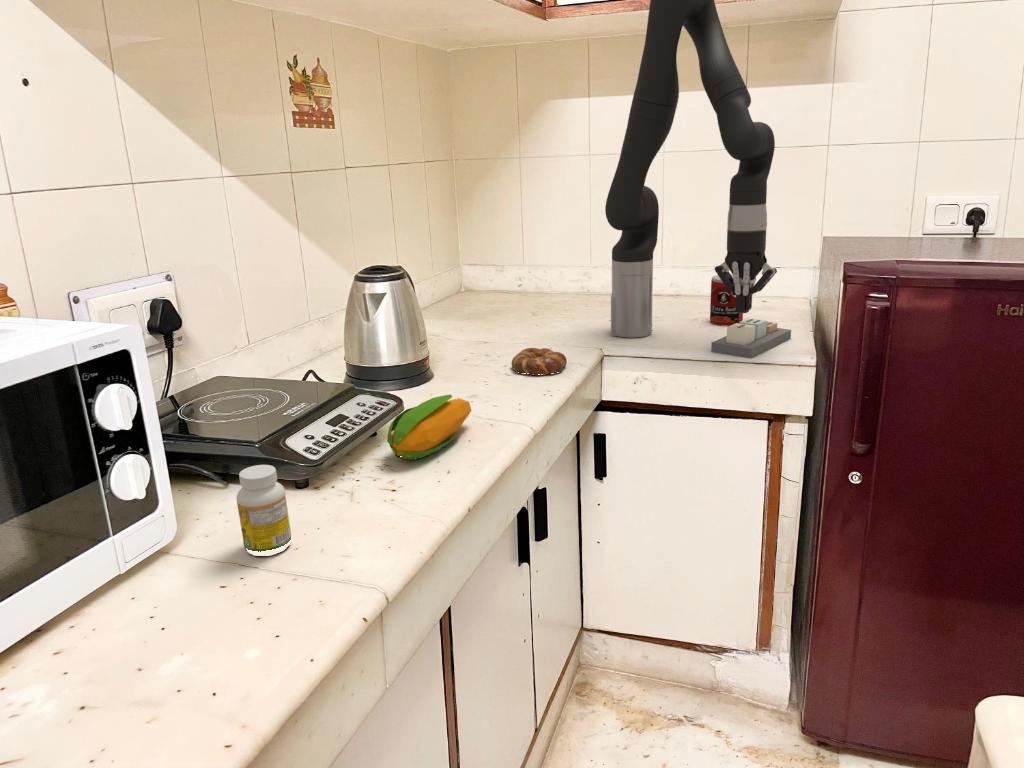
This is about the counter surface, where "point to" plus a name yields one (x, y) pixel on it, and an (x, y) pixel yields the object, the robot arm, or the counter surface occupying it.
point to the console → (751, 344)
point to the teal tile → (757, 327)
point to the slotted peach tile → (771, 327)
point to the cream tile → (740, 334)
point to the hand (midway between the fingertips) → (743, 312)
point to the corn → (427, 426)
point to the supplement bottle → (262, 509)
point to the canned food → (723, 304)
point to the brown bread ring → (538, 361)
